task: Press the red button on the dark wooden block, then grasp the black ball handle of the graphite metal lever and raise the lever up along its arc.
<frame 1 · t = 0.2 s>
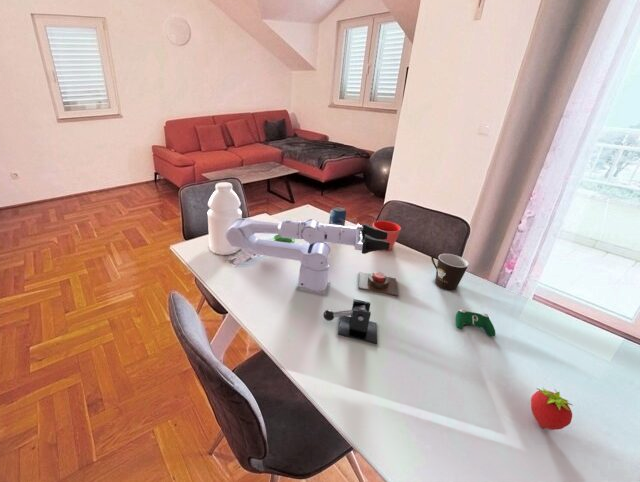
hand: (388, 240, 93), 21 cm above the table, tool horizontal, fingers open, 7 cm apart
button: (379, 277, 107), point 3 cm above the table, slide at 0.1 cm
lever: (344, 313, 88), point 5 cm above the table, hinge at -25.0°
bracket: (357, 331, 88), on the table
strawberry: (540, 426, 64), on the table
gaming controller: (471, 327, 90), on the table
coffee mug: (443, 283, 110), on the table
button block: (377, 285, 108), on the table
flower pot: (382, 246, 134), on the table
soda can: (335, 232, 146), on the table
bottle: (225, 247, 133), on the table
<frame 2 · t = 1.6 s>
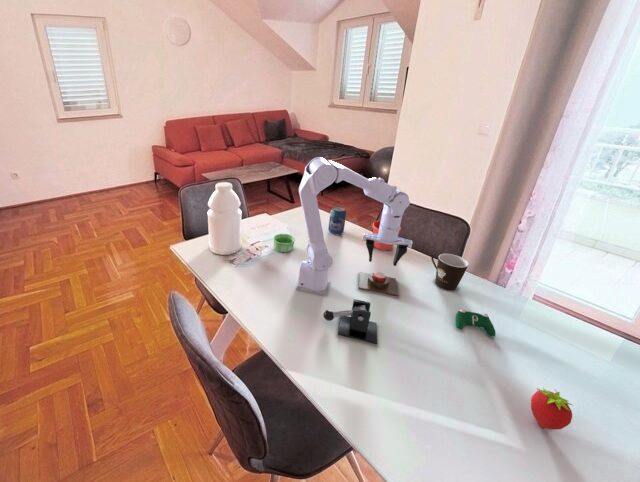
hand: (382, 262, 104), 9 cm above the table, tool pointing down, fingers open, 7 cm apart
nothing on the table moved.
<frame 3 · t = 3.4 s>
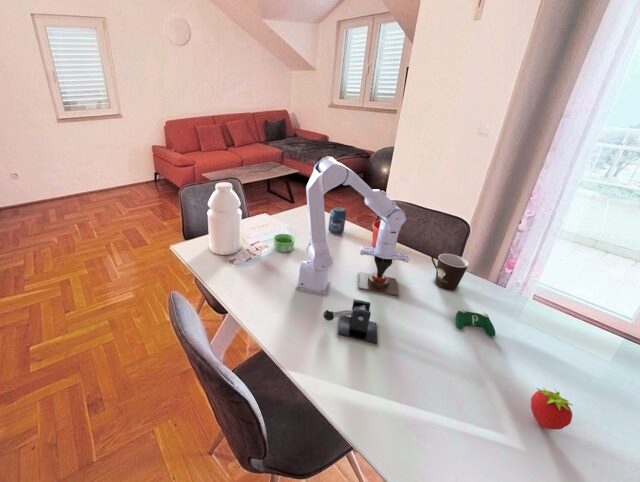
hand: (379, 275, 106), 4 cm above the table, tool pointing down, fingers closed, pressing on button
button: (378, 277, 107), point 3 cm above the table, slide at -0.1 cm, touching gripper
everything else where it was.
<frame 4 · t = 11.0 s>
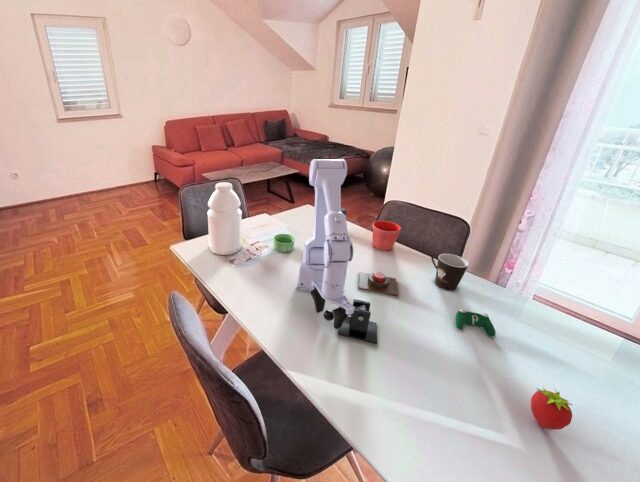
hand: (328, 319, 90), 2 cm above the table, tool pointing down, fingers open, 7 cm apart
button: (379, 277, 107), point 3 cm above the table, slide at 0.1 cm
everything else where it was.
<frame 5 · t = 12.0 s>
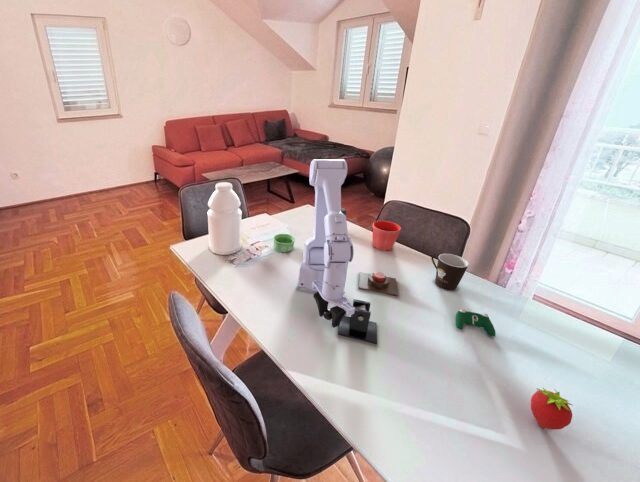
hand: (328, 320, 90), 2 cm above the table, tool pointing down, fingers open, 5 cm apart
lever: (344, 313, 88), point 5 cm above the table, hinge at -23.3°, touching gripper
everything else where it was.
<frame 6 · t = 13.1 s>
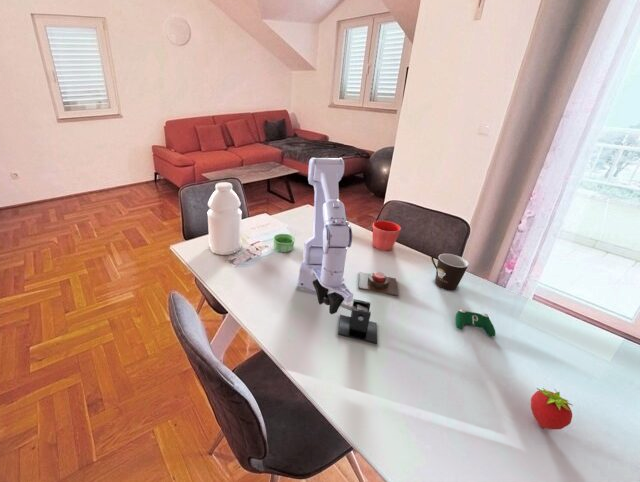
hand: (327, 307, 89), 6 cm above the table, tool pointing down, fingers open, 4 cm apart
lever: (344, 305, 87), point 8 cm above the table, hinge at 9.7°, touching gripper
everything else where it was.
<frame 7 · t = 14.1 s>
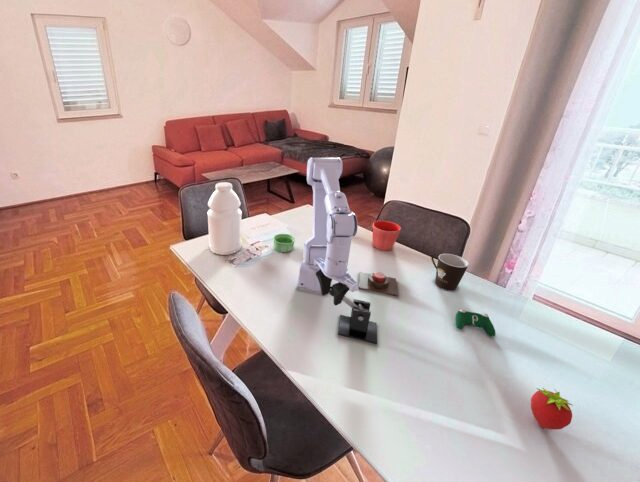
hand: (331, 298, 87), 9 cm above the table, tool pointing down, fingers open, 4 cm apart
lever: (347, 301, 86), point 9 cm above the table, hinge at 32.2°, touching gripper
everything else where it was.
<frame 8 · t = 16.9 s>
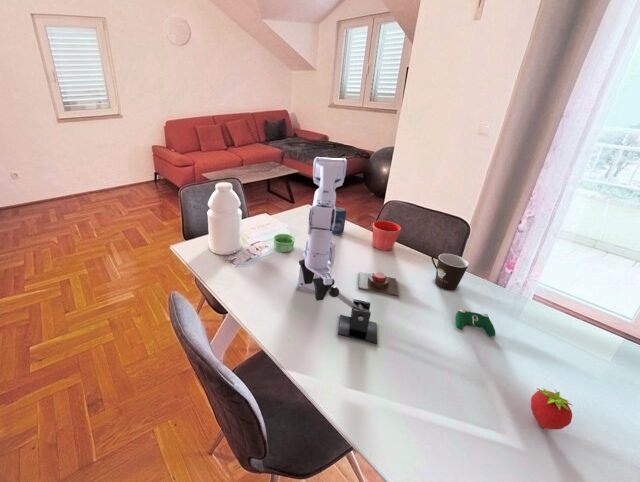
hand: (313, 291, 89), 10 cm above the table, tool pointing down, fingers open, 7 cm apart
lever: (347, 301, 86), point 9 cm above the table, hinge at 30.4°
everything else where it was.
at the end: button pushed in 1.2 cm at the most during the clip, back to where it started at the end; button slide at 0.1 cm; lever at +30° (first picture: -25°) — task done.
